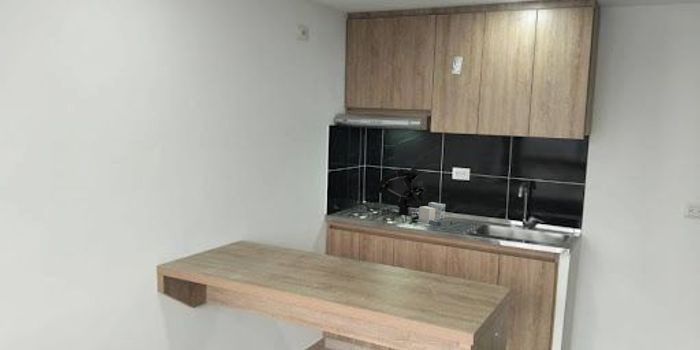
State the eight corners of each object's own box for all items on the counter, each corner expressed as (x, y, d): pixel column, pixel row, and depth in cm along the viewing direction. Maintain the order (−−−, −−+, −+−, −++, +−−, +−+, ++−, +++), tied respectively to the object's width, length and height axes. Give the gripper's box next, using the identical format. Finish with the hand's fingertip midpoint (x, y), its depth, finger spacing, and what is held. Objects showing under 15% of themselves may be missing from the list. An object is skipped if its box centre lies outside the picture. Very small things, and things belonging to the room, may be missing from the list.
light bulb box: (444, 218, 388) (445, 204, 387) (440, 220, 382) (441, 205, 381) (430, 216, 394) (432, 201, 392) (426, 217, 388) (428, 202, 387)
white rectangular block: (418, 219, 374) (419, 206, 372) (424, 218, 377) (425, 206, 376) (428, 222, 367) (429, 209, 366) (434, 221, 371) (435, 208, 369)
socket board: (414, 221, 371) (414, 214, 371) (427, 219, 380) (428, 213, 380) (438, 228, 355) (439, 221, 354) (452, 226, 364) (452, 219, 363)
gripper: (406, 177, 372) (417, 196, 365) (425, 176, 384) (435, 194, 377) (397, 186, 379) (407, 205, 372) (416, 185, 391) (426, 203, 384)
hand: (419, 201), depth 376 cm, fingers open, 6 cm apart
